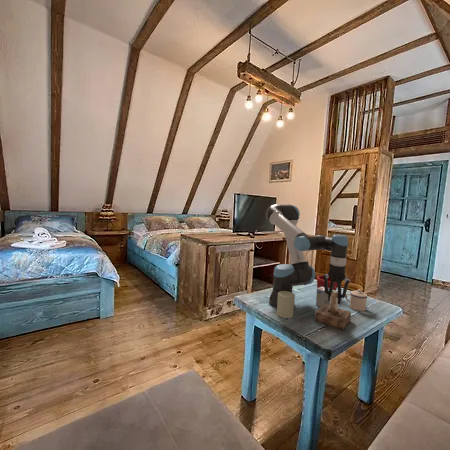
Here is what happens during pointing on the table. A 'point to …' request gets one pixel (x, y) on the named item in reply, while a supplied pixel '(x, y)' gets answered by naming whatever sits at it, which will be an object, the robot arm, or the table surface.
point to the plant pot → (321, 283)
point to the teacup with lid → (357, 300)
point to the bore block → (332, 317)
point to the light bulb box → (322, 296)
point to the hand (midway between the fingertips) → (333, 308)
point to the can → (285, 304)
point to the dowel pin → (333, 302)
